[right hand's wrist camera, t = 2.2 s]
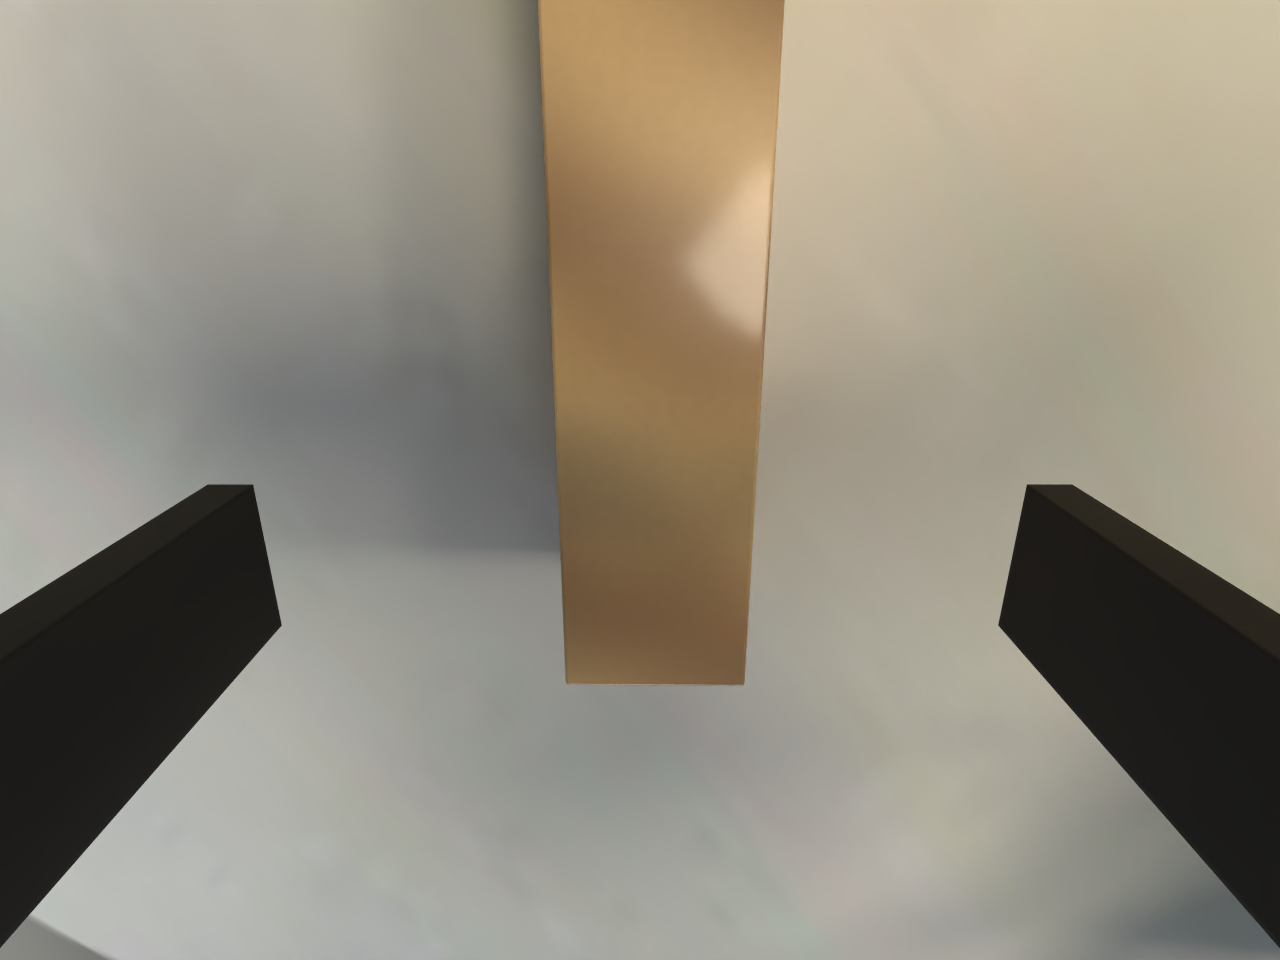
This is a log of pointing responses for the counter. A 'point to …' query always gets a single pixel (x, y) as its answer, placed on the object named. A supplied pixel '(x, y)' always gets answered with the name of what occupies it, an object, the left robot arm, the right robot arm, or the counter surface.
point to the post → (658, 324)
